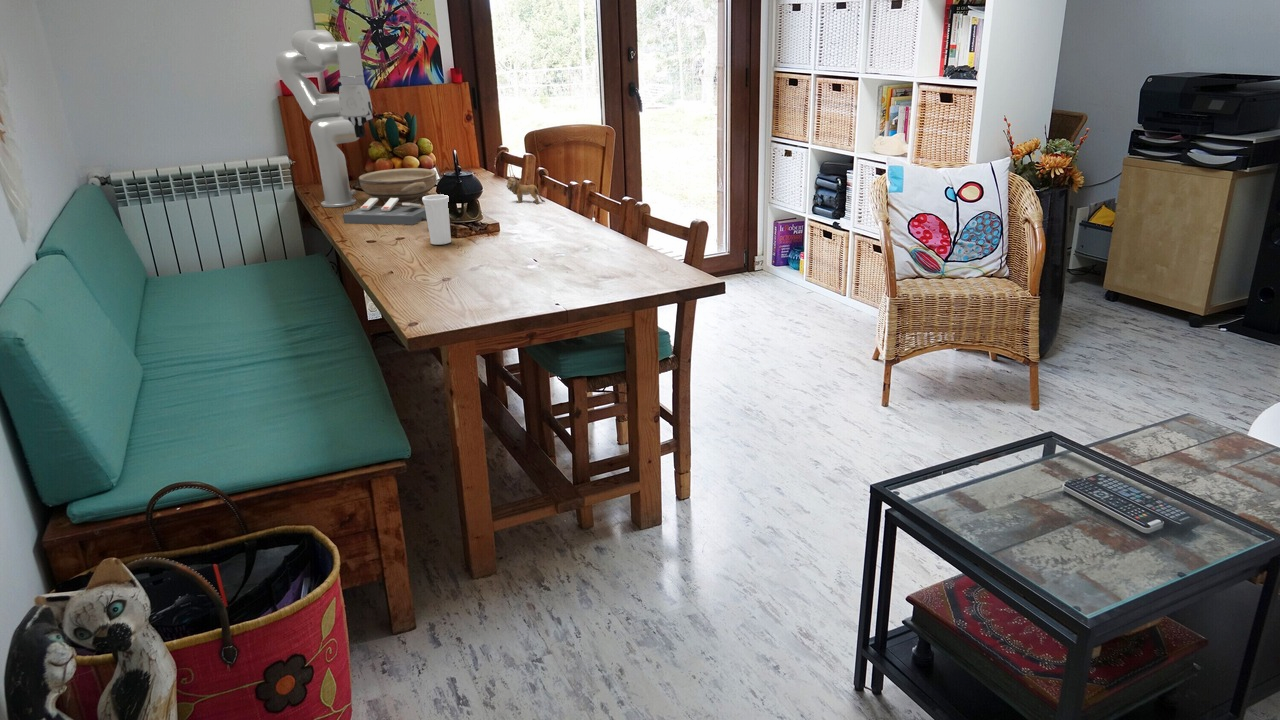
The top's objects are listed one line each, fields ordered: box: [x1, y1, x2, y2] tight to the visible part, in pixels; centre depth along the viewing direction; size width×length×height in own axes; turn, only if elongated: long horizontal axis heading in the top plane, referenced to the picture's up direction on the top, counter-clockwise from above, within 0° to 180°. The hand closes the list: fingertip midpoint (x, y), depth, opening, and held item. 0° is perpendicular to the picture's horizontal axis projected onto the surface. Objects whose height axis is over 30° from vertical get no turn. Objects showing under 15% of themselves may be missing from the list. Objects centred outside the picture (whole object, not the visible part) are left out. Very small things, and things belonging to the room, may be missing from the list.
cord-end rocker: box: [401, 202, 422, 207], centre depth 299 cm, size 8×3×1 cm, turn 166°
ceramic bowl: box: [358, 167, 437, 205], centre depth 329 cm, size 37×29×10 cm
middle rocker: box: [381, 198, 399, 211], centre depth 300 cm, size 8×3×1 cm, turn 166°
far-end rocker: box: [359, 197, 379, 210], centre depth 302 cm, size 8×3×1 cm, turn 166°
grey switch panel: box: [342, 205, 427, 226], centre depth 299 cm, size 14×32×3 cm, turn 76°
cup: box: [421, 193, 452, 246], centre depth 263 cm, size 8×8×14 cm
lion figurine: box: [505, 177, 546, 205], centre depth 318 cm, size 15×5×9 cm, turn 74°
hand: (360, 136), depth 300 cm, fingers closed
